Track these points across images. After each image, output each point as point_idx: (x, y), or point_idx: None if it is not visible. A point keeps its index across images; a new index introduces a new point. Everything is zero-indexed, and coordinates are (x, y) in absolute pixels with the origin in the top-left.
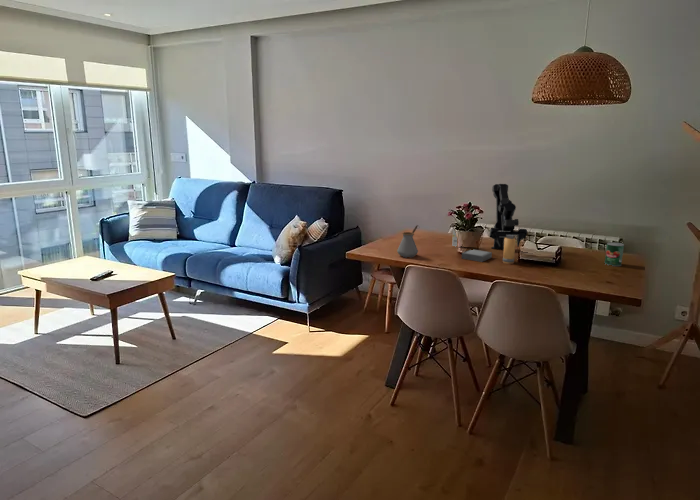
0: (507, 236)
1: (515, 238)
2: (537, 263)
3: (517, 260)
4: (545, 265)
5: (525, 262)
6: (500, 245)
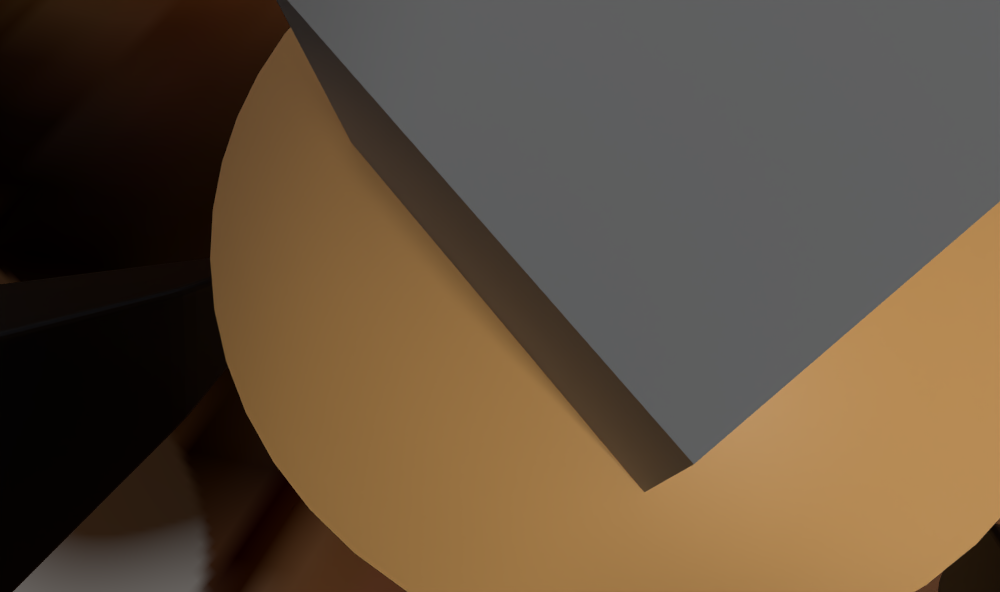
0: (968, 86)
1: (243, 107)
2: (59, 257)
3: (275, 565)
4: (34, 118)
5: None
6: (996, 525)
